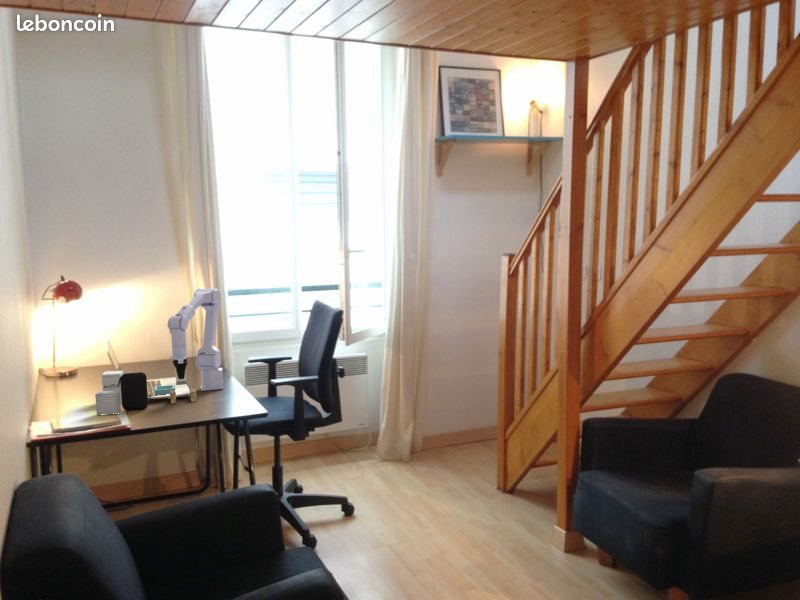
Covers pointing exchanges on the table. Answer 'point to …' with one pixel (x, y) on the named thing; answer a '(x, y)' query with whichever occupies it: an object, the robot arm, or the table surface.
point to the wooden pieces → (173, 395)
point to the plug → (180, 381)
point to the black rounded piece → (134, 391)
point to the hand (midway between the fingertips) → (181, 377)
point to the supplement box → (112, 381)
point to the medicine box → (108, 402)
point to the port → (163, 389)
